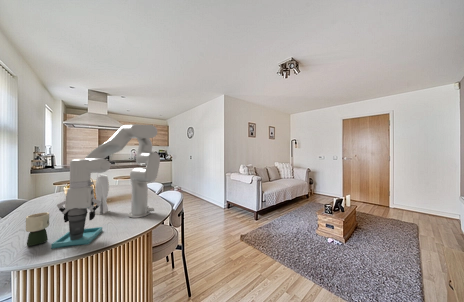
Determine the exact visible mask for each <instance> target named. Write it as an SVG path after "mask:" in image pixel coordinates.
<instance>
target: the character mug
mask: <svg viewBox="0 0 464 302" xmlns="http://www.w3.org/2000/svg"><path fill="white" fill-rule="evenodd" d="M49 226H50V212H48V211H47V212H39V213H38V212H36V213H33V214H29V215H27V216H26V217H25V232H28V235H27V241H26V246H27V247H31V246H35V245H40V244H43V243H46V242H48V240H49V239H48V238H49V237H48V232H47V229H48V228H49Z"/></svg>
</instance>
